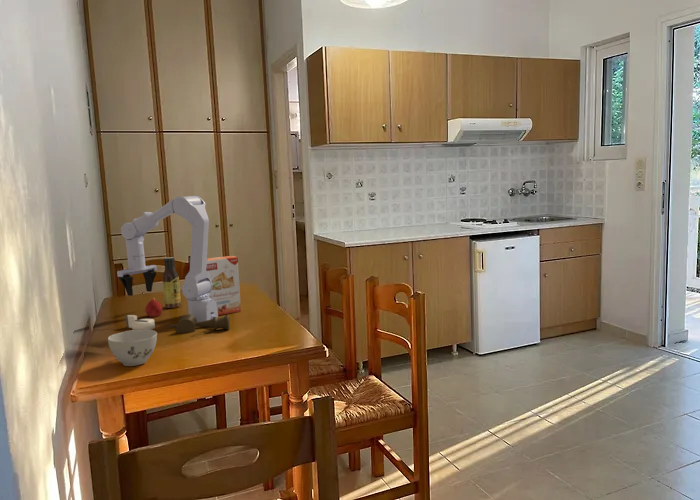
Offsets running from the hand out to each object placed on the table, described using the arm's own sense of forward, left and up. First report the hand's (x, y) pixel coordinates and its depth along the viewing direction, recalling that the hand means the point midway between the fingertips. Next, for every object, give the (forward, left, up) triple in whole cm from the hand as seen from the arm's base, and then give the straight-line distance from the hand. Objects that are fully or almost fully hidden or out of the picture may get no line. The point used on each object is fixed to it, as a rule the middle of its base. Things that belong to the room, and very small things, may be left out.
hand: (139, 293), depth 197 cm
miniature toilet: (-12, +12, -9) cm, 19 cm away
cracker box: (-22, -17, -10) cm, 30 cm away
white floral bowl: (-34, +36, -10) cm, 51 cm away
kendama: (-31, +6, -11) cm, 34 cm away
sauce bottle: (+5, -21, -10) cm, 23 cm away
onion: (-3, -3, -10) cm, 11 cm away
